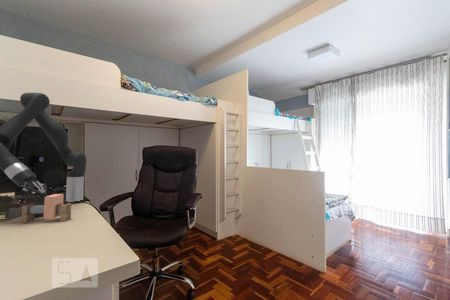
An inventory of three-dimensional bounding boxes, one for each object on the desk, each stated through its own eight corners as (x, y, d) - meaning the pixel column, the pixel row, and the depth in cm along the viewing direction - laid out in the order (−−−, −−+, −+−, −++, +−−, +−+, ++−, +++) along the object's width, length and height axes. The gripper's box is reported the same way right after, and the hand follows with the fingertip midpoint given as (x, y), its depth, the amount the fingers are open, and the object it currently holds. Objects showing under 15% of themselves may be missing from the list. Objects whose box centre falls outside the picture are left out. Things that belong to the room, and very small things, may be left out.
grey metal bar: (30, 212, 99) (31, 205, 100) (67, 211, 102) (68, 204, 102) (25, 214, 96) (25, 206, 96) (63, 213, 99) (63, 206, 99)
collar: (53, 214, 103) (54, 194, 103) (62, 214, 103) (63, 194, 104) (43, 218, 96) (44, 196, 96) (53, 218, 96) (54, 196, 97)
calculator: (19, 209, 106) (55, 202, 119) (19, 218, 106) (55, 210, 119) (27, 213, 100) (64, 205, 113) (27, 221, 100) (64, 213, 113)
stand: (29, 219, 100) (30, 204, 100) (70, 218, 103) (71, 203, 103) (21, 223, 95) (21, 206, 95) (64, 221, 98) (65, 205, 98)
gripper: (15, 169, 92) (45, 197, 93) (37, 168, 105) (63, 192, 106) (1, 181, 91) (31, 209, 92) (25, 178, 104) (51, 202, 105)
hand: (48, 200), depth 99 cm, fingers closed
